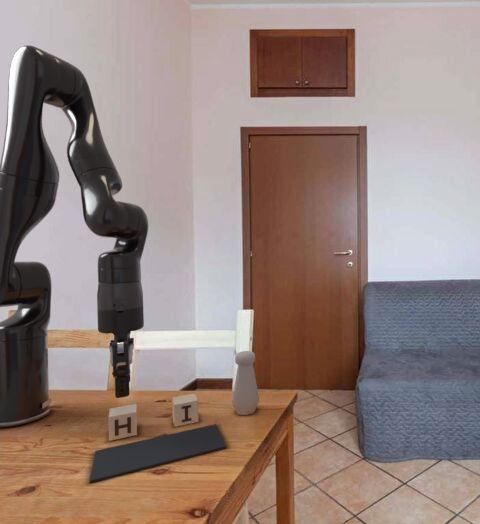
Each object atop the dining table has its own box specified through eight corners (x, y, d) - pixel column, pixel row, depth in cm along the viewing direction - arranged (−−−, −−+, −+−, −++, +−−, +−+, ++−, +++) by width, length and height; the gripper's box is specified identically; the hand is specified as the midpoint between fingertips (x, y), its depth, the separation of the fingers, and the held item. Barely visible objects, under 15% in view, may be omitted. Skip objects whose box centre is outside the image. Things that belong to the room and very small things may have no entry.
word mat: (89, 483, 56) (89, 480, 56) (95, 453, 65) (95, 450, 65) (226, 448, 66) (226, 445, 66) (215, 425, 75) (215, 424, 75)
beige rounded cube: (108, 441, 69) (108, 417, 69) (110, 431, 73) (110, 408, 73) (136, 435, 71) (136, 412, 71) (136, 425, 75) (136, 403, 75)
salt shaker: (251, 418, 78) (251, 356, 78) (226, 415, 79) (226, 355, 79) (263, 406, 84) (263, 349, 84) (240, 405, 85) (239, 348, 85)
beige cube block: (174, 427, 74) (174, 404, 74) (172, 418, 78) (172, 397, 78) (198, 422, 76) (198, 400, 76) (195, 413, 80) (195, 393, 80)
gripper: (100, 303, 76) (103, 382, 76) (93, 311, 63) (96, 406, 64) (142, 300, 79) (145, 376, 80) (143, 308, 67) (146, 397, 67)
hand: (123, 389), depth 72 cm, fingers open, 8 cm apart
